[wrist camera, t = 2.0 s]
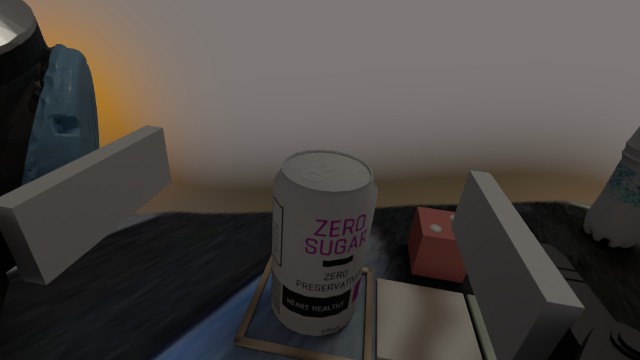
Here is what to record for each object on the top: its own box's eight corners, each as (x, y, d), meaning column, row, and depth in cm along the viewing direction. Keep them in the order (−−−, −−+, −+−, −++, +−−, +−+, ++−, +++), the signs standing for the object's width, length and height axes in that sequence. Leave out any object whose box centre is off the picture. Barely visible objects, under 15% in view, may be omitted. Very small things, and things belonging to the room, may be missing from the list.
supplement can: (311, 261, 37) (322, 139, 29) (370, 304, 32) (401, 172, 25) (253, 301, 31) (250, 163, 24) (315, 360, 27) (334, 211, 19)
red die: (411, 274, 36) (423, 233, 33) (407, 242, 41) (417, 204, 38) (462, 283, 36) (478, 243, 33) (451, 249, 41) (465, 212, 38)
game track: (233, 344, 27) (233, 341, 27) (273, 253, 37) (273, 251, 37) (622, 426, 24) (625, 423, 24) (550, 303, 34) (551, 300, 34)
